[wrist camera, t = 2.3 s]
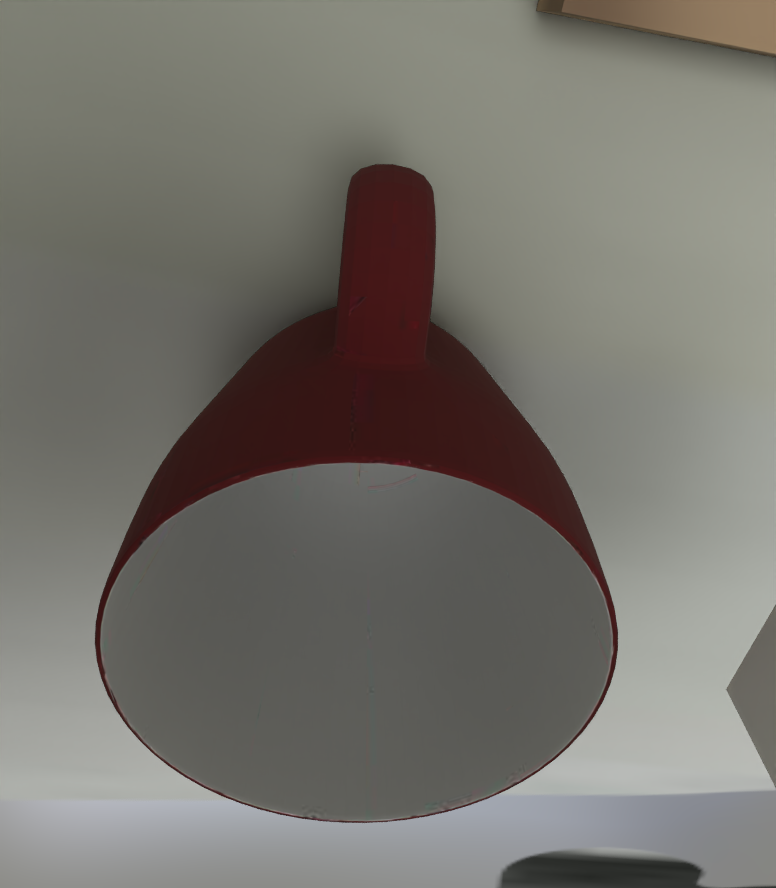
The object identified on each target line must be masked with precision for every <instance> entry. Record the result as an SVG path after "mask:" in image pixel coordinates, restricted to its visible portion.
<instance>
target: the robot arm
mask: <svg viewBox="0 0 776 888" xmlns="http://www.w3.org/2000/svg"><path fill="white" fill-rule="evenodd" d="M726 690H727V692H728V694H729V696H730V698H731V700H732V702H733V704H734V706H735V708H736V710H737V712H738V714H739V716H740V717H741V719H742V721H743V723H744V725H745V727H746V729H747V731H748V733H749V735H750V737H751V739H752V741H753V743H754V745H755V747H756V749H757V751H758V753H759V755H760V757H761V759H762V761H763V763H764V765H765V767H766V769H767V771H768V773H769V775H770V777H771V779H772V781H773V783H774V785H775V787H776V605H775V607H774V609H773V610H772V612H771V614H770V615H769V617H768V619H767V621H766V622H765V624H764V626H763V627H762V629H761V631H760V632H759V634H758V636H757V638H756V639H755V641H754V643H753V644H752V646H751V648H750V650H749V651H748V653H747V655H746V656H745V658H744V660H743V662H742V663H741V665H740V667H739V668H738V670H737V672H736V674H735V675H734V677H733V679H732V680H731V682H730V684H729V686H728V687H727V689H726Z"/></svg>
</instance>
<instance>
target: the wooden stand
mask: <svg viewBox="0 0 776 888" xmlns="http://www.w3.org/2000/svg"><path fill="white" fill-rule="evenodd" d="M536 11H541V12H546V13H551V14H556V15H561V16H566V17H572V18H577V19H582V20H587V21H592V22H597V23H602V24H607V25H612V26H618V27H623V28H628V29H633V30H638V31H643V32H648V33H653V34H658V35H664V36H669V37H674V38H679V39H684V40H689V41H694V42H699V43H704V44H710V45H715V46H720V47H725V48H730V49H735V50H740V51H745V52H750V53H756V54H761V55H766V56H771V57H776V0H539V1H538V6H537V10H536Z"/></svg>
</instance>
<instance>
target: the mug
mask: <svg viewBox="0 0 776 888" xmlns="http://www.w3.org/2000/svg"><path fill="white" fill-rule="evenodd" d="M435 248H436V219H435V204H434V195H433V190H432V186H431V185H430V184H429V182H428V181H427V179H426V178H425V177H424V176H423V175H421V174H420V173H418V172H416V171H414V170H412V169H410V168H406V167H402V166H397V165H393V164H375V165H372V166H368V167H365V168H361V169H360V170H359V171H358V172H357V173H356V174H354V175H353V176H352V179H351V182H350V185H349V188H348V194H347V203H346V212H345V222H344V233H343V243H342V254H341V266H340V277H339V289H338V302H337V307H334V308H331V309H328V310H325V311H322V312H319V313H317V314H314V315H312V316H309V317H307V318H304V319H302V320H300V321H298V322H296V323H294V324H292V325H291V326H289V327H287V328H286V329H284V330H282V331H281V332H279V333H278V334H277V335H275V336H274V337H273V338H271V339H270V340H269V341H267V342H266V343H265V344H264V345H263V346H262V347H261V348H260V349H259V350H258V351H257V352H256V353H255V354H253V356H252V357H251V358H250V359H249V360H248V361H247V362H246V363H245V364H244V366H243V367H242V368H241V369H240V370H239V371H238V372H237V373H236V374H235V376H234V377H233V378H232V379H231V380H230V381H229V382H228V383H227V384H226V386H225V387H224V388H223V389H222V390H221V391H220V392H219V393H218V394H217V396H216V397H215V398H214V399H213V400H212V401H211V402H210V403H209V404H208V406H207V407H206V408H205V409H204V410H203V411H202V412H201V413H200V415H199V416H198V417H197V418H196V419H195V420H194V422H193V423H192V424H191V425H190V426H189V427H188V429H187V430H186V431H185V432H184V433H183V435H182V436H181V437H180V438H179V439H178V441H177V442H176V443H175V445H174V446H173V448H172V449H171V450H170V452H169V453H168V455H167V456H166V458H165V459H164V461H163V462H162V464H161V465H160V467H159V469H158V471H157V472H156V474H155V476H154V477H153V479H152V481H151V483H150V485H149V487H148V489H147V491H146V493H145V495H144V497H143V499H142V501H141V503H140V505H139V507H138V509H137V511H136V514H135V516H134V518H133V520H132V522H131V525H130V527H129V529H128V531H127V533H126V536H125V538H124V540H123V543H122V545H121V548H120V550H119V552H118V555H117V557H116V560H115V562H114V565H113V567H112V569H111V572H110V574H109V577H108V579H107V582H106V585H105V588H104V591H103V594H102V596H101V600H100V604H99V609H98V614H97V620H96V630H95V647H96V656H97V663H98V667H99V671H100V675H101V679H102V681H103V684H104V686H105V689H106V691H107V694H108V696H109V698H110V700H111V701H112V703H113V705H114V707H115V709H116V711H117V712H118V714H119V715H120V717H121V718H122V719H123V721H124V722H125V724H126V725H127V726H128V728H129V729H130V730H131V731H132V732H133V733H134V735H135V736H136V737H137V738H138V739H139V740H140V741H141V742H142V743H143V744H144V745H145V746H146V747H147V748H148V749H149V750H150V751H151V752H152V753H153V754H154V755H156V756H157V757H158V758H159V759H161V760H162V761H163V762H164V763H166V764H167V765H168V766H169V767H171V768H172V769H174V770H175V771H177V772H178V773H180V774H181V775H183V776H184V777H186V778H188V779H190V780H191V781H193V782H195V783H197V784H198V785H200V786H202V787H204V788H206V789H208V790H210V791H212V792H214V793H217V794H219V795H221V796H223V797H226V798H228V799H231V800H234V801H236V802H239V803H241V804H245V805H248V806H251V807H254V808H257V809H260V810H265V811H269V812H273V813H277V814H280V815H286V816H291V817H297V818H302V819H311V820H318V821H330V822H345V823H347V822H348V823H349V822H352V823H367V822H368V823H369V822H388V821H397V820H407V819H413V818H419V817H425V816H430V815H435V814H439V813H444V812H448V811H451V810H455V809H458V808H462V807H465V806H468V805H471V804H474V803H477V802H479V801H482V800H484V799H488V798H490V797H492V796H494V795H497V794H499V793H501V792H503V791H506V790H507V789H509V788H511V787H513V786H515V785H517V784H519V783H521V782H523V781H524V780H526V779H527V778H529V777H531V776H532V775H534V774H535V773H537V772H538V771H540V770H541V769H543V768H544V767H545V766H547V765H548V764H549V763H551V762H552V761H553V760H555V759H556V758H557V757H558V756H559V755H560V754H561V753H562V752H564V751H565V750H566V749H567V748H568V747H569V746H570V745H571V744H572V743H573V742H574V741H575V740H576V739H577V737H578V736H579V735H580V734H581V733H582V732H583V731H584V729H585V728H586V727H587V725H588V724H589V723H590V721H591V720H592V719H593V717H594V716H595V714H596V712H597V711H598V709H599V707H600V705H601V704H602V702H603V700H604V698H605V695H606V693H607V691H608V688H609V686H610V683H611V680H612V677H613V673H614V670H615V665H616V658H617V651H618V629H617V622H616V615H615V609H614V605H613V602H612V598H611V594H610V591H609V588H608V585H607V582H606V579H605V576H604V573H603V570H602V568H601V565H600V562H599V559H598V556H597V553H596V550H595V548H594V545H593V542H592V539H591V537H590V534H589V532H588V529H587V527H586V524H585V522H584V519H583V517H582V514H581V512H580V509H579V507H578V504H577V502H576V500H575V497H574V495H573V493H572V491H571V489H570V487H569V485H568V483H567V481H566V479H565V477H564V475H563V473H562V472H561V470H560V468H559V467H558V465H557V463H556V461H555V460H554V458H553V457H552V455H551V453H550V452H549V450H548V449H547V447H546V446H545V445H544V443H543V442H542V441H541V439H540V438H539V437H538V435H537V434H536V433H535V431H534V430H533V429H532V427H531V426H530V425H529V423H528V422H527V421H526V420H525V418H524V417H523V416H522V415H521V413H520V412H519V411H518V410H517V408H516V407H515V406H514V405H513V403H512V402H511V401H510V400H509V398H508V397H507V396H506V395H505V393H504V392H503V391H502V390H501V388H500V387H499V386H498V385H497V383H496V382H495V381H494V380H493V378H492V377H491V376H490V375H489V373H488V372H487V371H486V370H485V368H484V367H483V366H482V365H481V363H480V362H479V361H478V360H477V359H476V358H475V357H474V356H473V354H472V353H471V352H470V351H469V350H468V349H467V348H466V347H465V346H464V345H462V344H461V343H460V342H459V341H458V340H457V339H456V338H454V337H453V336H451V335H450V334H449V333H447V332H446V331H444V330H443V329H441V328H440V327H438V326H436V325H435V324H433V323H431V322H430V315H431V306H432V295H433V285H434V270H435Z"/></svg>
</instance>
